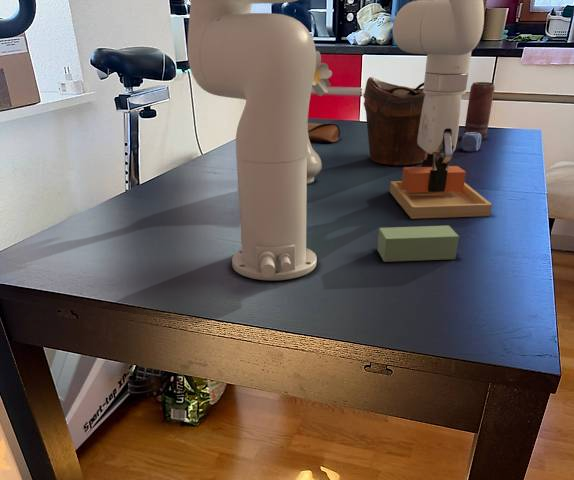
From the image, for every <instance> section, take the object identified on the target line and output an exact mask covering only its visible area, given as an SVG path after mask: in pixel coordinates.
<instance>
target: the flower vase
mask: <svg viewBox="0 0 574 480" xmlns="http://www.w3.org/2000/svg"><path fill="white" fill-rule="evenodd" d="M332 76H333V71H332V70H330V69H329V65H328V64H327V63H325V62H322V56H321V53H320V51H319V50H316V67H315V74H314V80H313V85H312V89H313V91H314V92H315V94H317V96H319V97H322V96H323V95H324V93H326V94H327V93H328V92H329V91H328V88H329V87H331V86H332V85H331V83H330V81H329V80H328V79H330V78H331V77H332ZM322 165H323V163H322V160H321V157H320V155H319V154H318V153H317V152H316V150H315V149H314V148H313V146H312V142H310V140H309V135H308V124H307V185H309V184H312V183H314V182H315V177H316V176H317V175H318V174H320V172H321V170H322V169H323V166H322Z"/></svg>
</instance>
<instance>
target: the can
mask: <svg viewBox="0 0 574 480" xmlns="http://www.w3.org/2000/svg"><path fill="white" fill-rule="evenodd" d="M494 93H495V83H494V82H487V81H486V82H485V81H476V82H472V85H471V86H470V90H469V97H468V102H467V109H466V117H465V125H464V130H463V135H464V134H465V133H466V132H476V133H480V134H481V141H485V139H486V138H487V135H488V129H489V123H490V117H491V111H492V105H493V98H494Z"/></svg>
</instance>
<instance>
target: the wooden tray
mask: <svg viewBox="0 0 574 480" xmlns="http://www.w3.org/2000/svg"><path fill="white" fill-rule="evenodd" d="M389 193H390V194H391V195H392V197H393V198H394V199H395V201H396V202H397V203H398V204H399V205H400V206H401V208H402V209H403V210H404V212H405V213H406V214H407V215H408V217H409V218H410V219H411V220H414V219H415V220H416V219H442V218H443V219H445V218H471V217H473V218H475V217H491V214H492V208H493V204H492V203H491V202H490V201H489V200H487V199H486V198H485V197H484V196H482V195H481V194H480V193H479V192H477V191H476V190H475V189H473V188H472V187H471V186H470V185H469V184H467V183H466V182H465V183H464V189H463V191H449V192H413V193H408V192H407V191H406V190H405V189H404V188H403V187H402V180H401V181H400V180H397V181H396V180H393V181H392V180H391V181H390V183H389Z"/></svg>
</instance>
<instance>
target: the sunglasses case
mask: <svg viewBox="0 0 574 480" xmlns="http://www.w3.org/2000/svg"><path fill="white" fill-rule="evenodd" d="M308 135H309V140H310V143H318V144H319V143H335V142H337V141H339V140H340V136H341V129H340V127H339V125H338V124H336V123H331V122H329V123H328V122H327V123H317V122H313V123H312V122H308Z"/></svg>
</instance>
